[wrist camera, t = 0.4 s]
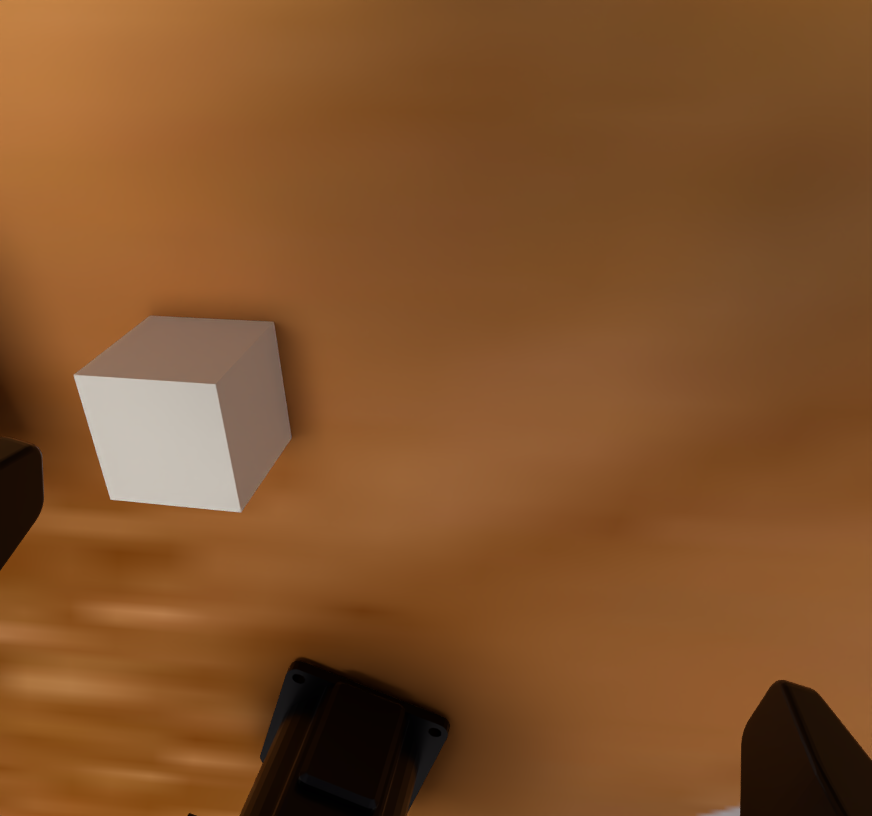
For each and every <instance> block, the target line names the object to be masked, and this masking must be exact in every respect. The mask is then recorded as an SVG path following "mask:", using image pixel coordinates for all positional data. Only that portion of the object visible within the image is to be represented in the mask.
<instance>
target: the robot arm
mask: <svg viewBox="0 0 872 816" xmlns="http://www.w3.org/2000/svg"><path fill="white" fill-rule="evenodd" d="M43 502H44V487H43V460H42V453H41V451H40V449H39V448H38V447H37V446H35V445H34V444H31V443H27V442H24V441H21V440H18V439H15V438H11V437H1V438H0V570H1V569H2V567H3V566H4V565H5V563H6V562H7V560H8V559H9V558H10V556H11V555H12V553H13V552H14V551H15V549H16V548H17V546H18V545H19V544H20V542H21V541H22V539H23V538H24V537H25V535H26V534H27V532H28V531H29V530H30V528H31V527H32V525H33V524H34V523H35V521H36V520H37V518H38V516H39V514H40V512H41V509H42V507H43ZM449 728H450V724H449V722H448V720H447V719H446V718H444V717H442V716H440V715H437V714H435V713H432V712H430V711H427V710H425V709H422V708H420V707H417V706H415V705H412V704H409V703H407V702H404V701H402V700H399V699H397V698H394V697H392V696H389V695H387V694H384V693H381V692H379V691H376V690H374V689H371V688H369V687H366V686H364V685H361V684H358V683H356V682H353V681H351V680H348V679H346V678H343V677H341V676H338V675H336V674H333V673H330V672H328V671H325V670H323V669H320V668H318V667H315V666H313V665H310V664H308V663H305V662H301V661H296V662H293V663H292V664H291V665H290V667H289V669H288V672H287V674H286V677H285V680H284V683H283V686H282V689H281V692H280V695H279V699H278V702H277V705H276V708H275V711H274V714H273V717H272V721H271V724H270V727H269V730H268V733H267V736H266V739H265V742H264V746H263V749H262V752H261V755H260V759H261V761H262V762H263V764H262V767H261V769H260V771H259V773H258V776H257V778H256V780H255V782H254V784H253V787H252V789H251V791H250V793H249V796H248V798H247V800H246V802H245V805H244V807H243V809H242V811H241V814H240V816H407V812H408V811H409V809H410V807H411V805H412V803H413V801H414V799H415V797H416V795H417V794H418V792H419V790H420V788H421V786H422V784H423V782H424V780H425V778H426V777H427V775H428V773H429V771H430V769H431V767H432V765H433V763H434V761H435V760H436V758H437V756H438V754H439V752H440V750H441V748H442V746H443V744H444V743H445V741H446V739H447V736H448V732H449ZM188 816H196V815H194V814H191V813H189V814H188ZM740 816H872V760H871V759H870V757H869V756H868V755H867V754H866V752H865V751H864V750H863V749H862V747H861V746H860V745H859V744H858V742H857V741H856V740H855V739H854V737H853V736H852V735H851V734H850V732H849V731H848V730H847V729H846V727H845V726H844V725H843V724H842V722H841V721H840V720H839V718H838V717H837V716H836V715H835V713H834V712H833V711H832V710H831V708H830V707H829V706H828V705H827V703H826V702H825V701H824V700H823V698H822V697H821V696H820V695H819V694H818V693H817V692H816V691H815V690H813V689H811V688H808V687H805V686H802V685H799V684H795V683H792V682H789V681H786V680H778V681H776V682H775V683H773V684H772V686H771V687H770V688H769V690H768V691H767V693H766V694H765V696H764V697H763V699H762V700H761V702H760V704H759V705H758V707H757V708H756V710H755V711H754V713H753V714H752V716H751V717H750V719H749V721H748V722H747V724H746V726H745V729H744V732H743V736H742V743H741V799H740Z"/></svg>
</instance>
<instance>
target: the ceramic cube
mask: <svg viewBox="0 0 872 816" xmlns="http://www.w3.org/2000/svg"><path fill="white" fill-rule="evenodd" d="M74 378H75V381H76V385H77V388H78V391H79V395H80V398H81V402H82V405H83V408H84V412H85V415H86V418H87V422H88V425H89V428H90V432H91V435H92V439H93V442H94V445H95V449H96V452H97V455H98V459H99V462H100V465H101V469H102V472H103V476H104V479H105V482H106V486H107V489H108V492H109V496H110V499H111V500H121V501H131V502H141V503H151V504H161V505H171V506H181V507H191V508H201V509H211V510H222V511H232V512H242V510H243V509H244V507H245V506H246V505H247V503H248V502H249V500H250V499H251V497H252V496H253V494H254V493H255V491H256V490H257V488H258V487H259V485H260V484H261V482H262V481H263V480H264V478H265V477H266V475H267V474H268V472H269V471H270V469H271V468H272V466H273V465H274V463H275V462H276V460H277V459H278V457H279V456H280V455H281V453H282V452H283V450H284V449H285V447H286V446H287V444H288V443H289V441H290V440H291V438H292V436H291V430H290V423H289V417H288V410H287V404H286V397H285V390H284V384H283V377H282V371H281V364H280V358H279V351H278V345H277V338H276V332H275V325H274V322H269V321H249V320H229V319H208V318H188V317H168V316H149V317H147V318H146V319H145V320H144V321H142V322H141V323H140V324H138V325H137V326H136V327H135V328H133V329H132V330H131V331H129V332H128V333H127V334H126V335H124V336H123V337H122V338H120V339H119V340H118V341H117V342H115V343H114V344H113V345H111V346H110V347H109V348H108V349H106V350H105V351H104V352H102V353H101V354H100V355H99V356H97V357H96V358H95V359H93V360H92V361H91V362H89V363H88V364H87V365H86V366H84V367H83V368H82V369H80V370H79V371H78V372H77V373H75V374H74Z"/></svg>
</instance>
